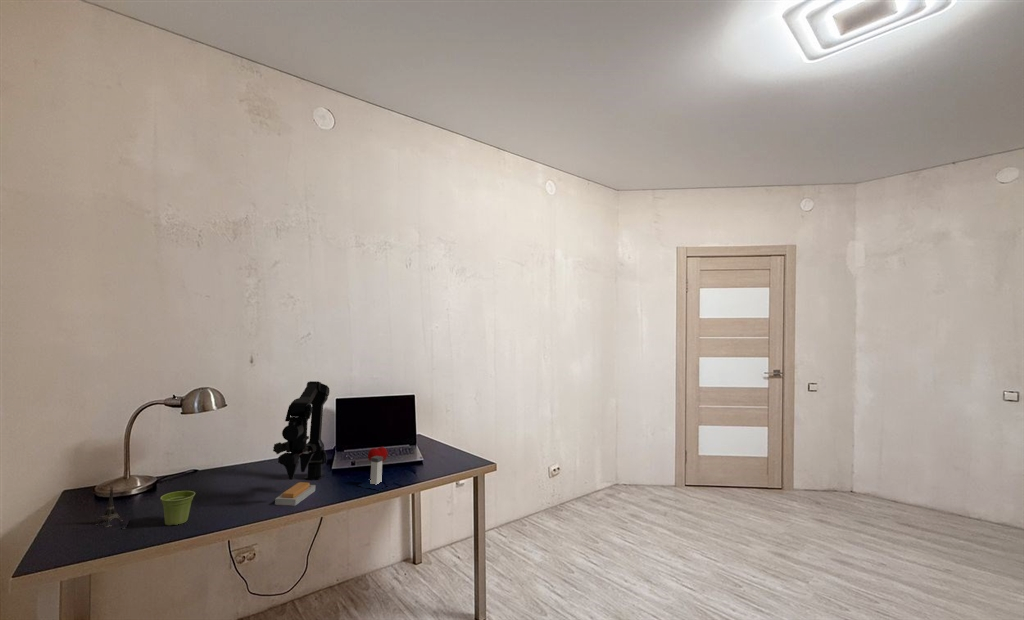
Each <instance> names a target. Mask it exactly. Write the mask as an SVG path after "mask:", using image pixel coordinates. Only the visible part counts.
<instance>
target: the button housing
mask: <svg viewBox="0 0 1024 620" xmlns="http://www.w3.org/2000/svg"><path fill="white" fill-rule="evenodd" d="M316 487H317V486H316V484H309V488H308V489H306V490H305V491H303V492H302V493H301V494H299V495H298V496H296V497H295V498H282V493H281V494H279V496H277V497H276V498H274V505H275V506H293V507H294V506H296V505H298V504H299V503H300V502H302V501H303V500H305V499H306V498H308V497H309V496H311V494H313V493H315V491H316Z"/></svg>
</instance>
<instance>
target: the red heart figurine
mask: <svg viewBox="0 0 1024 620" xmlns="http://www.w3.org/2000/svg"><path fill="white" fill-rule="evenodd" d="M374 456H382V457H383V461H382V463H383V462H385V461H386V459H387V457H388V450H387V448H385V447H384V446H380V447H378V448H376V447H375V448H374V447H373V448H370V450H369V451H368V454H367V459H368V460H369V461H370V462H371V457H374Z"/></svg>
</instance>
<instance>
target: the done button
mask: <svg viewBox="0 0 1024 620" xmlns="http://www.w3.org/2000/svg"><path fill="white" fill-rule="evenodd" d="M309 485H310V482H301V481H299V482H297V483H296V484H294V485H293V486H291V487H290V488H289V489H287V490H284V492H282V493H281V494H282V498H295V497H296V496H298V495H299V494H301V493H302V492H303V491H305V490H306V489H308V488H309Z"/></svg>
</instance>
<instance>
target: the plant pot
mask: <svg viewBox="0 0 1024 620" xmlns="http://www.w3.org/2000/svg"><path fill="white" fill-rule="evenodd" d="M195 496H196V492H195V491H192V490H180V491H172V492H168V493H165V494H163V495H161V496H160V501H161V504H162V507H163V516H164V525H166V526H173V525H174V526H175V525H176V526H177V525H178V524H179V525H181V524H184V523H186V522H187V521H188V519H189V515H190V511H191V506H192V501H193V499H194V497H195ZM179 525H178V526H179Z"/></svg>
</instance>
